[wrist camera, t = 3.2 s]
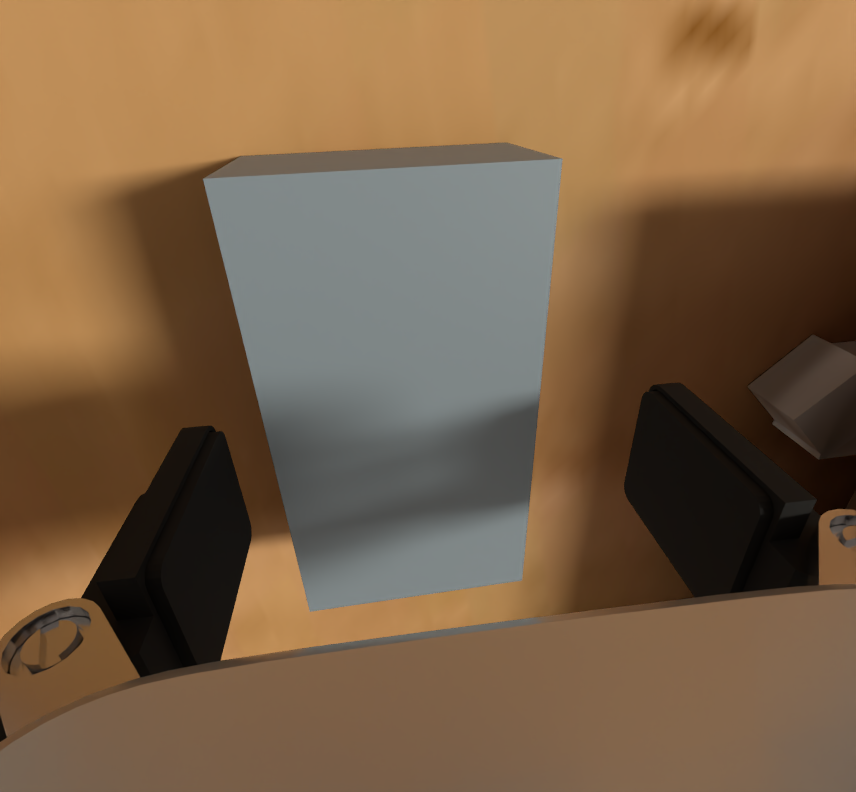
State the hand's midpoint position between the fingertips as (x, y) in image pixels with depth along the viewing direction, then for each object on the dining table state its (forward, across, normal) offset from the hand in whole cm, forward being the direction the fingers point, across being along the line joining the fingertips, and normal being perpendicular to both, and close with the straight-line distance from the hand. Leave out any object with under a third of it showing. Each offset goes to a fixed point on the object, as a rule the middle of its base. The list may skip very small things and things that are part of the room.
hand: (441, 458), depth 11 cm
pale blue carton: (+4, +1, -1) cm, 4 cm away
